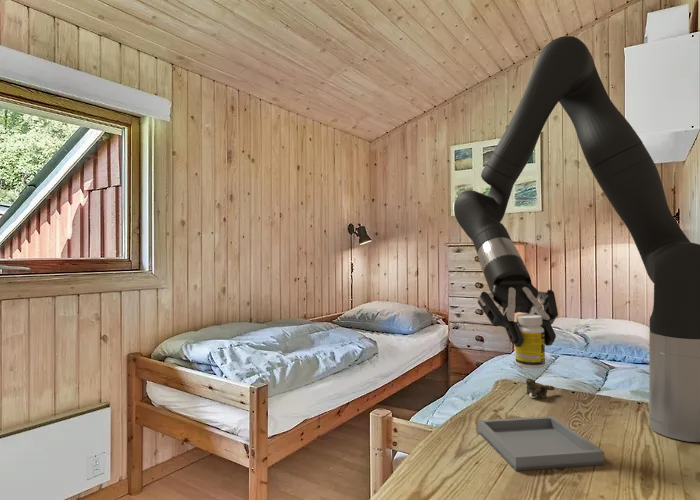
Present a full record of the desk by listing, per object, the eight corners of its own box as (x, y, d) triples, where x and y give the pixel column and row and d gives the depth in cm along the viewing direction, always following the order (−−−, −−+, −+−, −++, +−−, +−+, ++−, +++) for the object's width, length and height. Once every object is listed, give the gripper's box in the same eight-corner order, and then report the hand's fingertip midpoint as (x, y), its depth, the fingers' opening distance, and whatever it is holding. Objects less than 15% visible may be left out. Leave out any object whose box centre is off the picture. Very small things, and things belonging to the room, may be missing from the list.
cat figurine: (519, 395, 99) (522, 376, 99) (547, 398, 102) (549, 380, 102) (529, 399, 96) (532, 380, 96) (557, 402, 99) (560, 383, 99)
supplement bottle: (547, 369, 75) (546, 318, 74) (517, 368, 76) (516, 317, 75) (541, 362, 79) (541, 313, 79) (513, 361, 80) (512, 313, 80)
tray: (552, 427, 83) (552, 416, 83) (604, 464, 69) (604, 451, 69) (477, 431, 81) (477, 420, 81) (515, 470, 67) (515, 457, 67)
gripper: (471, 254, 84) (500, 332, 72) (545, 252, 85) (586, 329, 73) (461, 280, 89) (487, 357, 77) (531, 278, 91) (567, 354, 79)
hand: (535, 343), depth 75 cm, fingers closed on supplement bottle, 4 cm apart
